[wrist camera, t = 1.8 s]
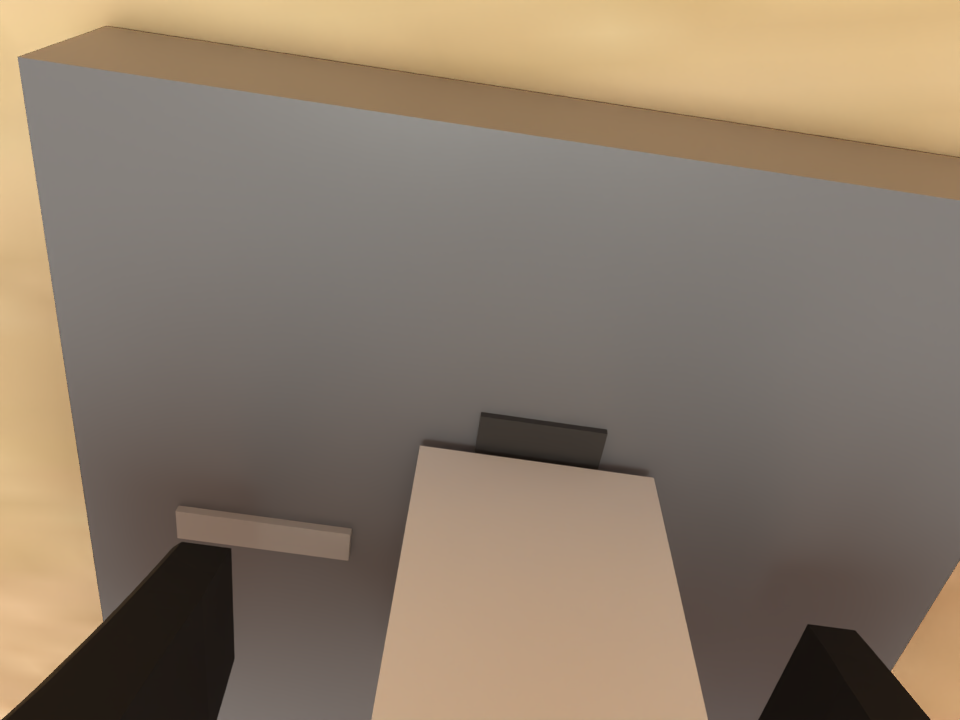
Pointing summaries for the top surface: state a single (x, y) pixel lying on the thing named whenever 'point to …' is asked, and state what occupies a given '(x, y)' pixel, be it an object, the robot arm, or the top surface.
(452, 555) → the fader tab
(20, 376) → the top surface
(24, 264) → the top surface
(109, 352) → the fader console
